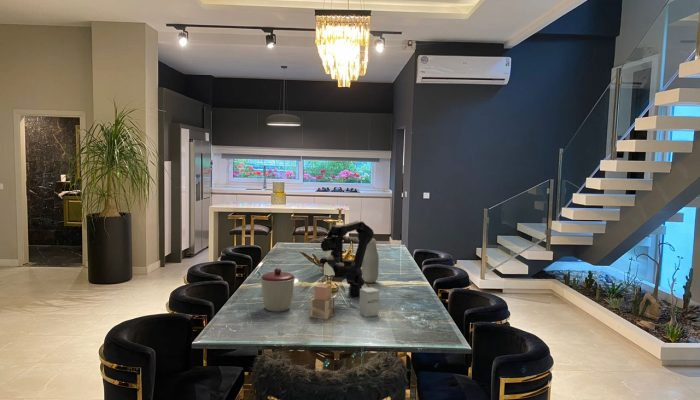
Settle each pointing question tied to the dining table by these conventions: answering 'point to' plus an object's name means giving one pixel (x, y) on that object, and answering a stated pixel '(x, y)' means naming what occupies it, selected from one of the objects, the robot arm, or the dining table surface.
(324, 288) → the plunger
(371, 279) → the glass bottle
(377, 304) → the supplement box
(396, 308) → the dining table surface
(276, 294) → the canister
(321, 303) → the sleeve
